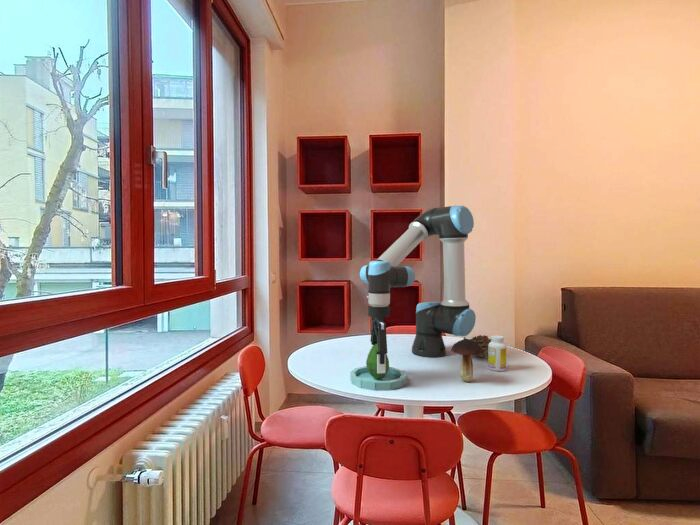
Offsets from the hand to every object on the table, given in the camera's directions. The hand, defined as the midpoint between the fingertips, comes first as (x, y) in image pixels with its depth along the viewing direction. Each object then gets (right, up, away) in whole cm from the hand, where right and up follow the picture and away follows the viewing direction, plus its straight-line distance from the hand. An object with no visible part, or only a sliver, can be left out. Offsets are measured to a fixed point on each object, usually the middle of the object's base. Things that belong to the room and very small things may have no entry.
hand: (378, 367), depth 135 cm
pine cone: (+46, -5, +37) cm, 59 cm away
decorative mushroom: (+31, -5, +1) cm, 31 cm away
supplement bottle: (+47, -5, +16) cm, 50 cm away
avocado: (0, -4, 0) cm, 4 cm away
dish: (0, -4, 0) cm, 4 cm away
